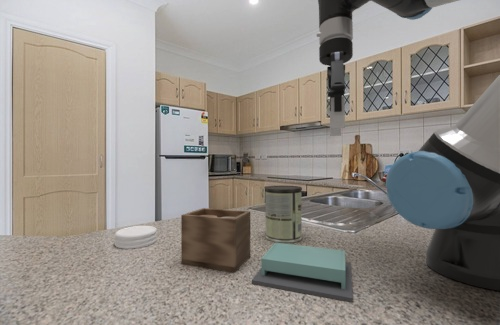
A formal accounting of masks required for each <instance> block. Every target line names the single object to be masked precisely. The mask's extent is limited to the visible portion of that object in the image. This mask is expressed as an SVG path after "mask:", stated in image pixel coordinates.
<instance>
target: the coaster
mask: <svg viewBox="0 0 500 325" xmlns="http://www.w3.org/2000/svg"><path fill="white" fill-rule="evenodd" d="M157 232H158V229H157V228H156V227H155V226H152V225H135V226H133V225H132V226H129V227H125V228H121V229H118V230H117V231H116V232H115V234H114V237H115V238H114V245H115V247H116V248H118V249H121V248H122V250H123V249H124V250H133V249H134V248H135V249H139V248H141V249H142V248H144V247H145V248H146V247H149V246H151V245H154V244H155V243H156V242H157V240H158V237H157V236H158V233H157Z"/></svg>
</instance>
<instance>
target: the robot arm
mask: <svg viewBox="0 0 500 325" xmlns="http://www.w3.org/2000/svg"><path fill="white" fill-rule="evenodd" d="M458 1H460V0H317V3H318V22H319V24H318V30H319V32H316V37H317V38H318V40H319V42H318V43H319V47H318V48H319V49H318V52H319V53H318V55H319V56H318V57H319V58H318V59H319V62H320V63H321V65H324V66H327V69H326V73H327V74H326V77H327V82H328V83H327V84H328V85H327V86H328V87H327V88H328V89H329V91H327V97H328V98H329V136H330V137H339V136H342V129H345V128H346V122H345V121H346V115H345V114H346V113H345V111H346V109H345V107H346V106H345V104H346V103H345V102H346V101H345V94H346V91H345V89H346V85H345V84H346V83H345V81H346V80H345V78H346V77H345V72H346V65H345V64H346V63H347V62H349V61H350V60H352V58H353V54H354V51H353V49H354V48H353V47H354V46H353V45H354V44H353V40H354V39H353V38H354V36H353V35H354V34H353V33H354V31H353V30H354V29H353V27H354V26H353V24H354V23H353V12H354V11H356V10H357V9H360V8H361V7H362V6H364V5H366V4H367V3H369V2H373V3H374V4H376V5H378V6H380V7H383V8H385V9H387V10H389V12H392V13H394V14H395V15H397V16H399V18H400V17H401V18H402V19H408V20H411V21H415V20H418V19H421V18H423V16H425V15H427V14H428V13H429V12H431V10H432V9H433V8H436V7H439V6H440V7H441V6H443V5H447V4H451V3H455V2H458ZM385 188H386V193H387V197H388V200H389V203H390V204H391V205H392V208H393V209H394V211H395V212H396V213H397V214H399V216H401V218H403V219H404V220H405V221H407V222H409V223H410V224H412V225H413V226H414V225H415V226H417V227H419V228H422V229H423V228H424V229H428V230H434V232H433V234H432V237H431V239H430V242H429V243H428V246H427V249H426V252H425V263H426V265H427V267H429V268H430V269H431V270H433V271H434V272H436V273H438V274H439V275H442V276H444V277H447V278H449V279H452V280H454V281H457V282H459V283H460V282H461V283H463V284H467V285H471V286H474V287H478V288H482V289H483V288H484V289H488V290H493V291H499V292H500V74H499V75H497V77H496V78H495V80H493V81H492V82H491V84H490V85H489V86H488V87H487V88H486V89H485V90H484V92H482V94H480V96H479V97H478V98H477V100H476V101H475V102H474V103H473V104H472V105H471V107H470V108H469V109H468V110H467V111H466V112H465V113H464V114H463V116H461V117H460V119H459V120H458V121H457V122H456V123H455V124H454V125H452V126H449V127H443V128H438V129H435V131H434V132H433V133H432V134H431V135H430V137H429V138H428V139H427V140H426V141H425V142H424V143H423V144H422V146H421V147H420V148H419V149H418V151H413V152H409V153H407V154H404V155H403V156H401V157H399V158H398V159H396V160H395V161H394V162H393V163H392V165H391V166H390V168H389V169H388V172H387V174H386V178H385Z"/></svg>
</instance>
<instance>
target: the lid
mask: <svg viewBox="0 0 500 325" xmlns="http://www.w3.org/2000/svg"><path fill="white" fill-rule="evenodd" d="M260 262H261V263H260V264H261V267H260V269H261V275H262V276H265V275H266V273H267V272H268V271H272V272H278V273H285V274H291V275H297V276H303V277H309V278H316V279H322V280H328V281H334V282H340V283H341V289H345V290H346V287H345V262H346V250H343V249H335V248H334V249H333V248H326V247H325V248H324V247H316V246H315V247H314V246H310V245H309V246H307V245H300V244H299V245H298V244H291V243H280V242H274V244H272V246H271V247H270V248H269V249H268V250H267V252H265V254H264V255H263V256H262V257H261V260H260Z"/></svg>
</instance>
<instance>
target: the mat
mask: <svg viewBox="0 0 500 325" xmlns="http://www.w3.org/2000/svg"><path fill="white" fill-rule="evenodd" d="M352 282H353V280H352V269H351V262H350V261H349V262H348V261H345V287H346V290H345V289H341V283H340V282H334V281H328V280H322V279H316V278H309V277H303V276H297V275H291V274H285V273H278V272H272V271H268V272H267V273H266V275H265V276H262V275H261V268H260V269H259V271H257V272H256V274H255V275H254V276H253V278H252V279H251V284H252V285H256V286H257V285H258V286H263V287H267V288H268V287H269V288H275V289H278V290H279V289H280V290H283V291H285V290H286V291H290V292H296V293H302V294H306V295H311V296H316V297H323V298H327V299H328V298H329V299H332V300H339V301H343V302H349V303H354V297H353V296H354V295H353V283H352Z"/></svg>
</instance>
